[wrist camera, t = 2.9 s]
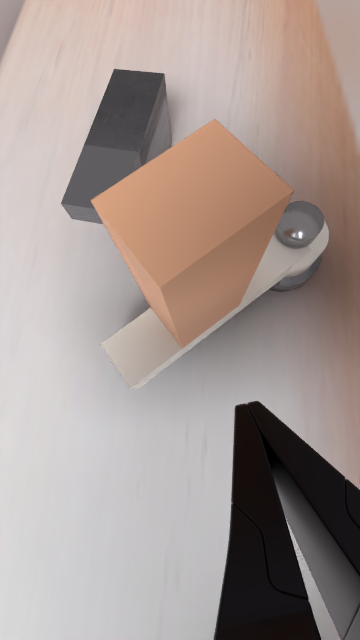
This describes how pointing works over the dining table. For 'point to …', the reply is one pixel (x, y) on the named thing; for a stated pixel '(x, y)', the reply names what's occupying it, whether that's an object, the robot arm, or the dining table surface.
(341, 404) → the dining table surface
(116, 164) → the dark grey block
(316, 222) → the pintle plate
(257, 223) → the link
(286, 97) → the dining table surface
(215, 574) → the dining table surface
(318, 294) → the dining table surface
